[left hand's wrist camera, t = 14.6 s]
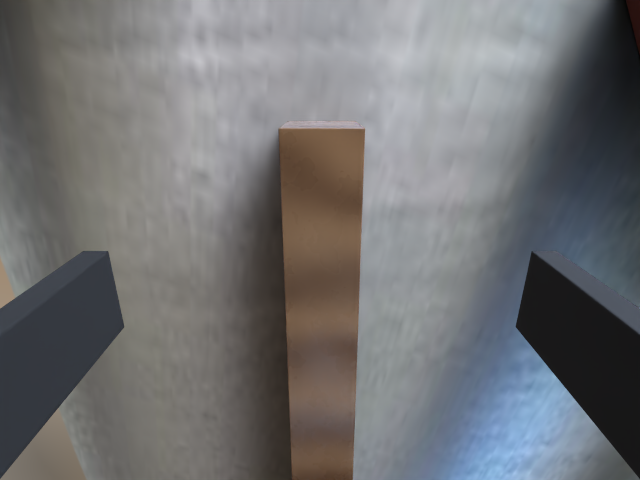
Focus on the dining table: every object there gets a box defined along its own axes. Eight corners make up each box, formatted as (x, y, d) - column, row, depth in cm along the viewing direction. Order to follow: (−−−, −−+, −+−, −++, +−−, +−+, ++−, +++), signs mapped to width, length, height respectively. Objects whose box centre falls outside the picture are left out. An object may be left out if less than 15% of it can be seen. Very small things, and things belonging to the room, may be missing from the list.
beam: (287, 121, 32) (278, 128, 25) (355, 121, 32) (365, 128, 25) (300, 537, 50) (296, 608, 43) (344, 537, 50) (348, 608, 43)
